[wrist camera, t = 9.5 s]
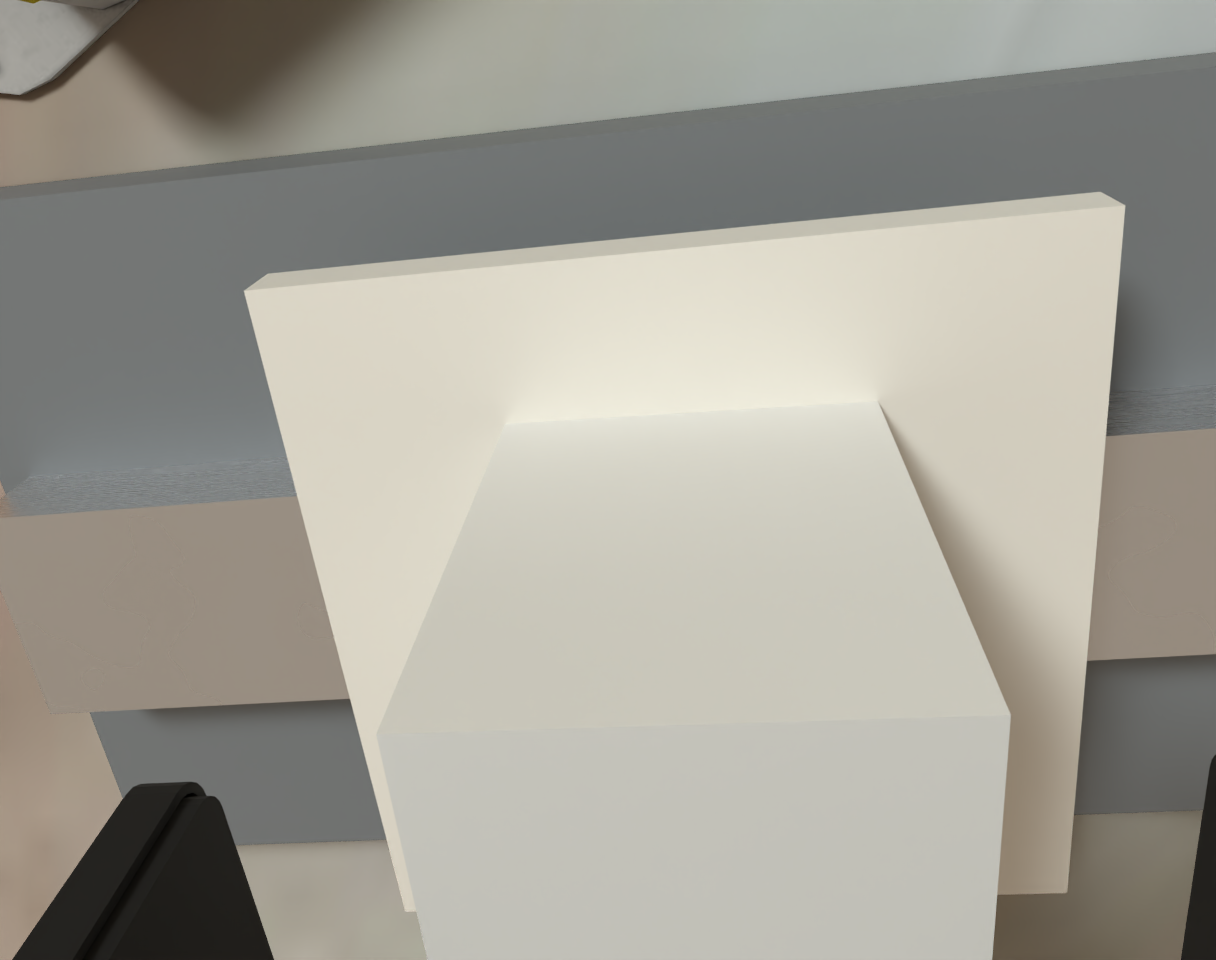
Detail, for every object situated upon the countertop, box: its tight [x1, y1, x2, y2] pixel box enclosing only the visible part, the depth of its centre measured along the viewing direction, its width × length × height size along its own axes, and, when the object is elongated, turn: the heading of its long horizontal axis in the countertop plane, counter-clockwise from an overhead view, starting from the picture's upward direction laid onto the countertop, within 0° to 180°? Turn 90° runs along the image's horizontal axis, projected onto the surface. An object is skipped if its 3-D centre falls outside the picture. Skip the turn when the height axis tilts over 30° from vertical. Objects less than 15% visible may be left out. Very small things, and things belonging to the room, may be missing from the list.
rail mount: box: [0, 52, 1216, 845], centre depth 17 cm, size 22×12×3 cm, turn 97°
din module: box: [376, 401, 1011, 960], centre depth 12 cm, size 4×6×6 cm
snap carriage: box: [244, 192, 1125, 912], centre depth 16 cm, size 10×11×2 cm
